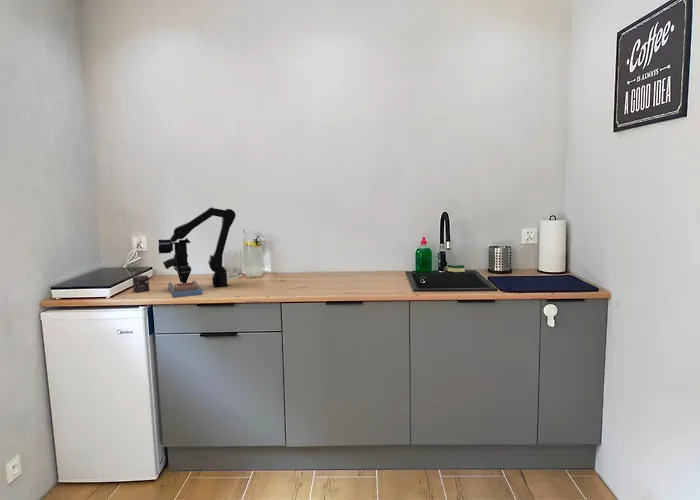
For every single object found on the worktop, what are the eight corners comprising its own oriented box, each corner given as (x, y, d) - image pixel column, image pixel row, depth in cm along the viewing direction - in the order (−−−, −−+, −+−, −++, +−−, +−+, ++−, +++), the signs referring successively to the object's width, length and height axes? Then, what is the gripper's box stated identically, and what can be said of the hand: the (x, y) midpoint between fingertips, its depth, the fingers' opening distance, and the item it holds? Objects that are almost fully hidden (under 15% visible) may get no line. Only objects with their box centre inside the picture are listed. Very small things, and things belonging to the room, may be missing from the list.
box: (136, 292, 247) (135, 277, 246) (133, 290, 251) (132, 276, 250) (149, 291, 250) (148, 276, 249) (146, 289, 255) (145, 274, 254)
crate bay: (195, 285, 262) (194, 280, 262) (202, 294, 241) (202, 289, 241) (168, 288, 256) (167, 283, 256) (173, 297, 236) (173, 292, 235)
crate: (194, 290, 250) (194, 282, 249) (197, 293, 243) (196, 285, 242) (175, 292, 246) (174, 283, 245) (177, 295, 239) (176, 286, 238)
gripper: (161, 251, 257) (163, 282, 259) (165, 256, 240) (167, 288, 243) (184, 249, 262) (186, 279, 264) (190, 254, 245) (192, 286, 247)
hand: (182, 283), depth 254 cm, fingers open, 9 cm apart
